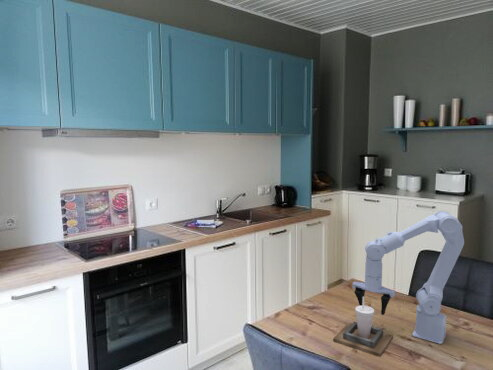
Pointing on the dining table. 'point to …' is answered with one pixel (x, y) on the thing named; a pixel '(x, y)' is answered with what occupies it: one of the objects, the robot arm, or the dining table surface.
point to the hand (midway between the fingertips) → (372, 311)
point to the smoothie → (364, 319)
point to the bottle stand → (364, 339)
